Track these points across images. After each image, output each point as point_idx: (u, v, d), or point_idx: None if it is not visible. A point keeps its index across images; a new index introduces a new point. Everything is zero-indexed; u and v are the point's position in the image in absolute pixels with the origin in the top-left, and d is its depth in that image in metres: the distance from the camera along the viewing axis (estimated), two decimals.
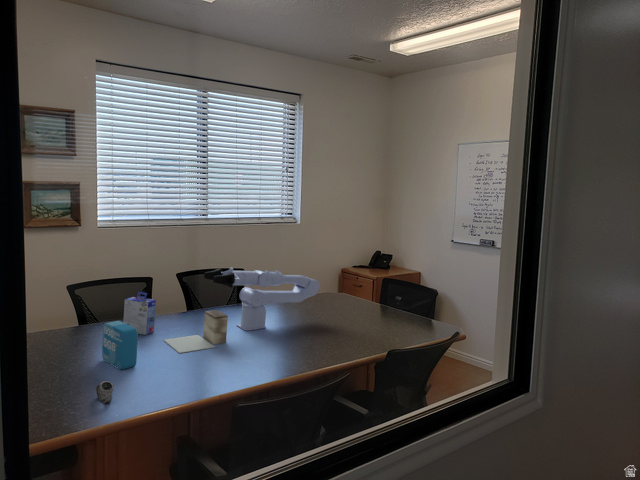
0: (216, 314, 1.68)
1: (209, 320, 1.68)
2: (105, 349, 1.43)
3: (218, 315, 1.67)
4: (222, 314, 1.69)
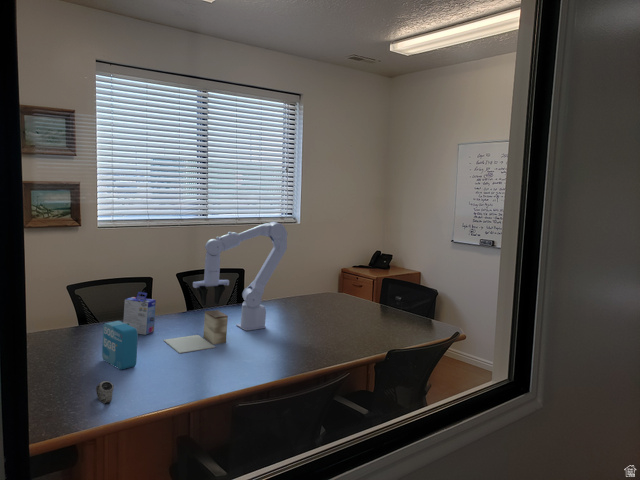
0: (216, 314, 1.68)
1: (209, 320, 1.68)
2: (105, 349, 1.43)
3: (218, 315, 1.67)
4: (222, 314, 1.69)
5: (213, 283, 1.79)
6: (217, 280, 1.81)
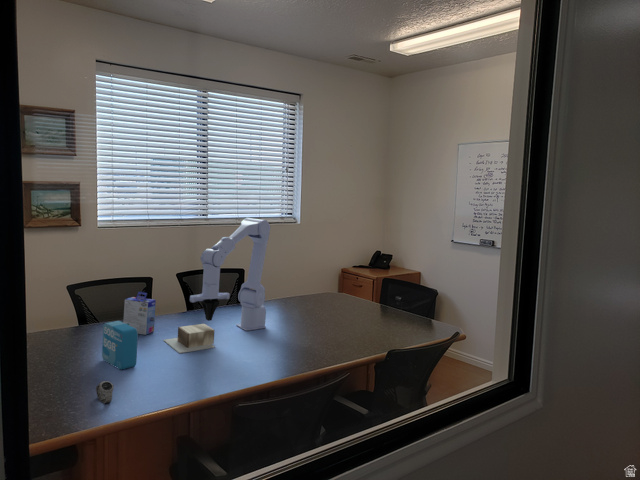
0: (183, 339, 1.62)
1: None
2: (105, 349, 1.43)
3: (185, 340, 1.60)
4: (184, 334, 1.61)
5: (212, 297, 1.64)
6: (216, 293, 1.66)
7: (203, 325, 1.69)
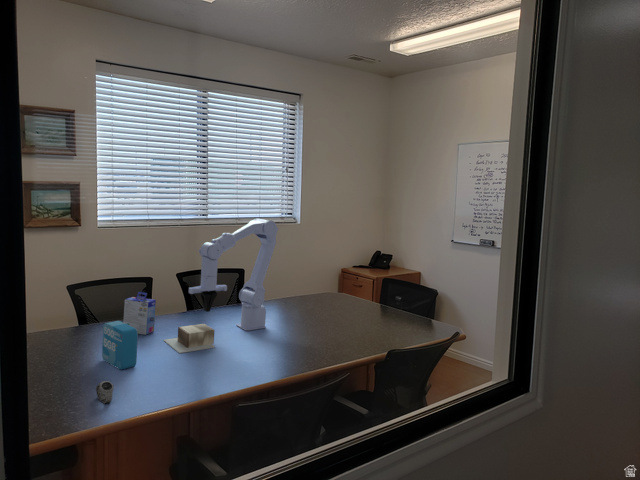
0: (183, 339, 1.62)
1: None
2: (105, 349, 1.43)
3: (185, 340, 1.60)
4: (184, 334, 1.61)
5: (210, 289, 1.70)
6: (214, 285, 1.72)
7: (203, 325, 1.69)
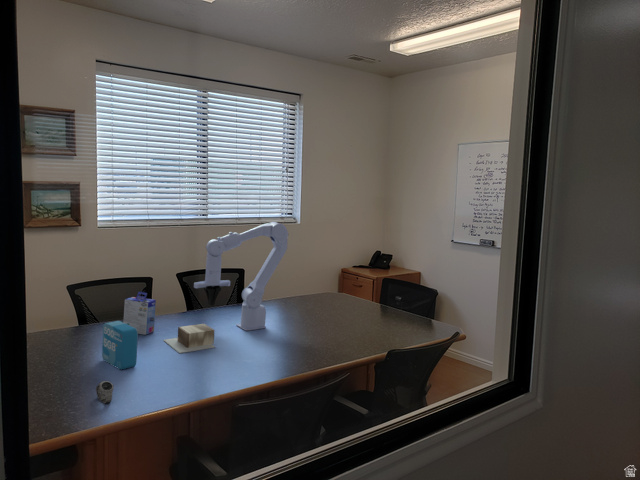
0: (183, 339, 1.62)
1: None
2: (105, 349, 1.43)
3: (185, 340, 1.60)
4: (184, 334, 1.61)
5: (214, 284, 1.79)
6: (218, 281, 1.80)
7: (203, 325, 1.69)
